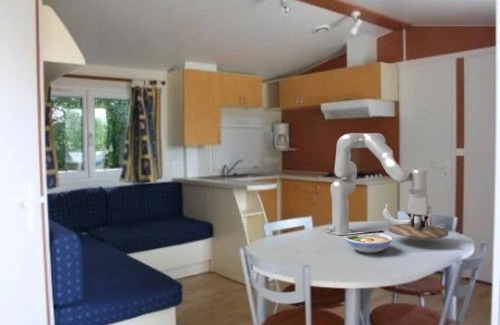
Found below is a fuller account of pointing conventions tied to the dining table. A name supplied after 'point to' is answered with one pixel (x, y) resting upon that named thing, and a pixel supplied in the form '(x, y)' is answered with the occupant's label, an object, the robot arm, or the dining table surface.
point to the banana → (391, 219)
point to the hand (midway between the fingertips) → (418, 227)
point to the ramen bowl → (368, 241)
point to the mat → (422, 244)
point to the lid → (418, 230)
